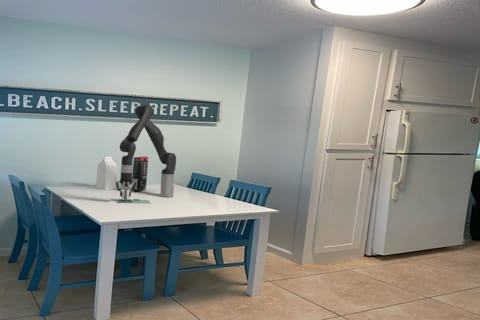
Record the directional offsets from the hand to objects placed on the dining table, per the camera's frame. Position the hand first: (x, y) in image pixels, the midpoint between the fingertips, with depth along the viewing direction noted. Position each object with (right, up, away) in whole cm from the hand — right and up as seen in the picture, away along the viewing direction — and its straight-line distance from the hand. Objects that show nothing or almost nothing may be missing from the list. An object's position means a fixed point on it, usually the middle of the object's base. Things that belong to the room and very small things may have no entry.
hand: (125, 196), depth 304 cm
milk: (-30, +2, +59) cm, 66 cm away
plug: (0, -1, 0) cm, 1 cm away
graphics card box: (-4, 0, +61) cm, 61 cm away
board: (+5, -4, +2) cm, 6 cm away
